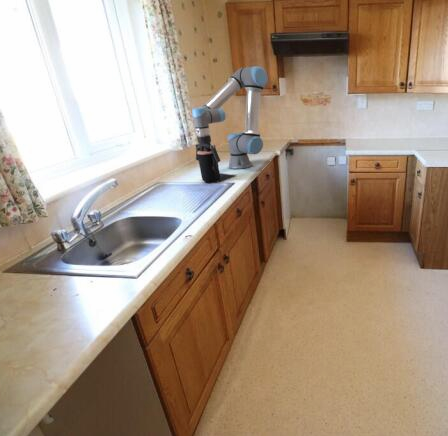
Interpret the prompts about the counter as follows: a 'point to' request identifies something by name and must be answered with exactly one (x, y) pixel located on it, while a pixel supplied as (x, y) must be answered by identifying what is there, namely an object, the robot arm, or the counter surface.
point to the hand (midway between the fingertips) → (210, 172)
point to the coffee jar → (207, 167)
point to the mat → (225, 177)
